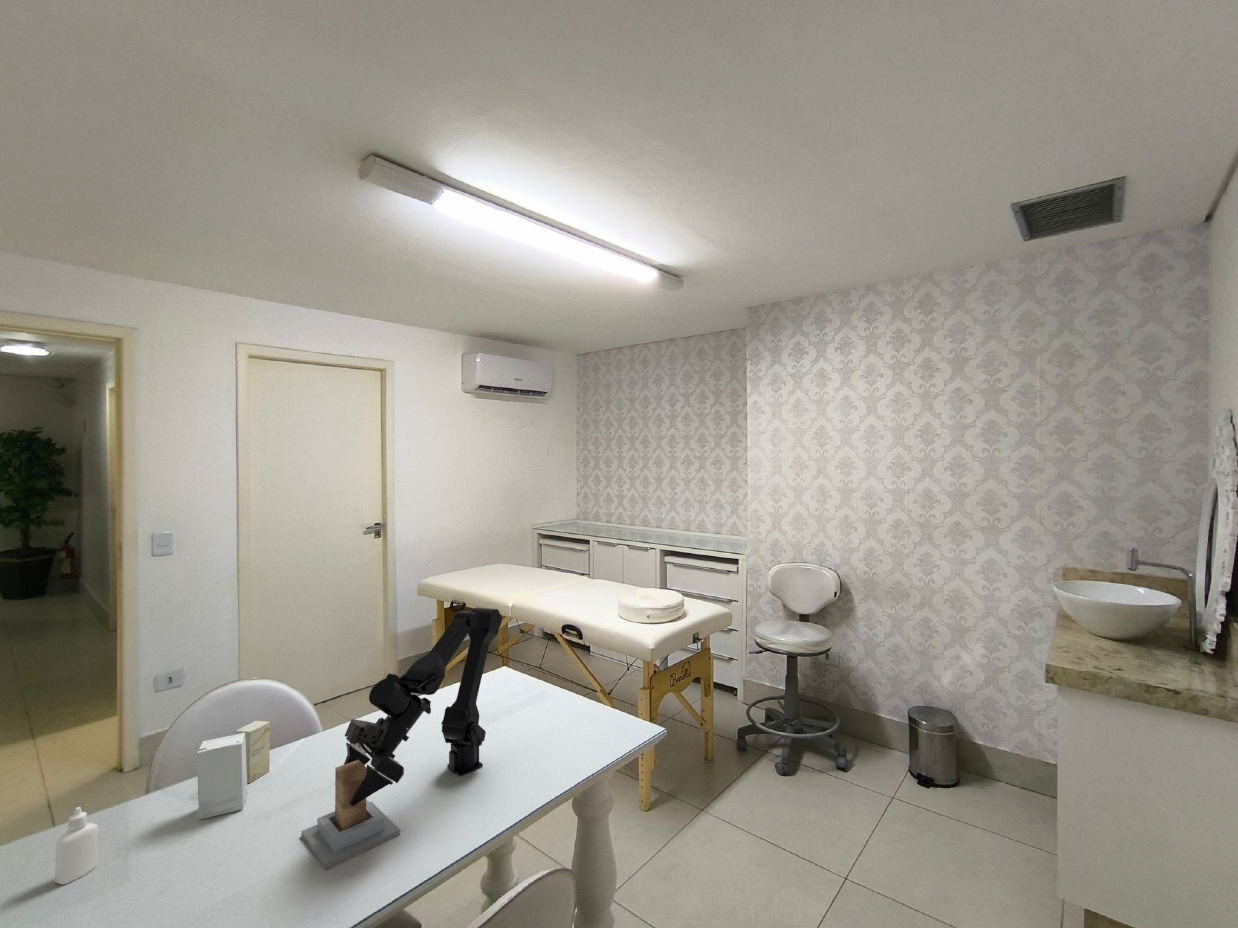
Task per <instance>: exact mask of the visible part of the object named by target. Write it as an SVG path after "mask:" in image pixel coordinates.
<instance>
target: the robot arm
mask: <svg viewBox="0 0 1238 928" xmlns="http://www.w3.org/2000/svg"><path fill="white" fill-rule="evenodd" d="M502 622H503V616H502V614H501V612H500V610H499V609H497V608H490V607H489V608H488V607H478V606H476V607H475V608H474V609H472V610H460V611H457V612H455V614H454V616H453V620H452V621H451V622H450V624H449V625H448V626H447V628H446V629H445V631H444V632H443V633H442V635H441V636H440V638H439V639H438V641H436V643H435V644H434V646H433V647H432V649H431V650H430V651H429V652H428V653H427V654H426V655H424V656H422V657H420V658H419V659H417V660H415V662H414V663H413V664H412V665H411V666H410V667H409V668H408V669H407V671H406V672H405V673H403V674H402V675H401V676H399V675H397V674H394V673H388V674H387V675H386V677H385V678H383V679H381V680H380V681H377V683H376V684H375V685H373V687H371V689H370V691H369V695H368V696H369V697H368V699H369V703H370V704H371V705H372V706H373V707H375V708H376V709H377V710H380V711H381V712H383V713H384V714H385V715H387V716H386V717H385V718H384V717H382V716H381V717H380V718H378V719H377V721H376V722H371V721H367V720H360V719H354V718H353V719H352V718H351V720H350V722H349V724H348V726H347V729H346V731H345V734H344V737H346V738H345V739H346V740H347V741H348V742H346V743H345V746H346V751H347V754H346V755H347V756H346V758H345V761H344V763H343V765H345V764H348V763H351V762H353V761H356V760H359V761H360V762H361V763H362V764H363V765H364V766H365V765H366V768H367V771H366V777H365V778H364V780H363V781H362V783H361V784H360V786H359V788H358V789H357V791H356V792H355V794H354V795H353V797H352V799H351V801H350V805H352V806H355V805H356V804H358V803H359V802H361V801H362V800H364V799H365V798H366V799H367V798H369V797H370V796H371V795H373V794H375V793H376V792H378V791H379V790H381V789H383V788H385V787H387V786H388V785H390V786H392V785H393V784H394V783H396V784H399V782H400V780H401V779H402V778H403V776H404V775H405V767H404V766H403V765H401V764H400V763H399V762H398V761H397V760H396V759H394V758H395V757H396V754H394V752H395V751H396V749H397V748H398V746H400V745H401V743H402V741H403V742H407V741H408V740H409V738H410V737H409V735H408V734H409V732H410V731H411V730H412V728H413V726H414V725H415V724H416V722H417V721H418V720H419V718H420V717H421V716H422V715H423V713H424V712H425V713H426V714H428V715H430V714H431V713H432V707H431V703H432V701H431V700H429V699H428V698H427V697H423V698H421V697H420V696H418V695H425V696H432V695H434V694H436V693H437V691H438V690H439V689H440V687H441V685H442V683H443V681H444V679H445V678H446V667H447V665H448V664H449V662H450V660H452V657H453V656H454V655H455V654H456V652H457V650H458V649H459V648H460V646H461V645H462V643H463V642H464V640H465V639H466V637H467V636H468V637H469V640H470V641H469V645H468V650H467V653H466V656H465V657H466V658H465V663H464V665H463V670H462V674H461V678H460V682H459V687H458V691H457V694H456V698H455V700H454V702H453V703H452V704H451V706H446V707H445V709H444V713H443V714H444V715H443V718H442V720H441V723H440V724H441V733H442V735H443V739H444V742H445V744H450V750H449V752H448V764H447V768H448V769H450V771H452V772H454V773H455V774H456V775H458V776H464V775H465V774H468V773H470V772H473V771H474V770H477V769H479V768H481V767H483V763H482V762H481V761H480V747H481V746H482V745H483V742H484V741H485V739H486V734H487V733H486V730H485V729H484V728H483V727H482V726H481V725H479V723H480V712H479V709H478V706H477V700H478V696H479V691H480V686H481V683H482V678H483V673H484V668H485V664H486V660H487V655H488V650H489V647H490V644H491V643H492V642H493V641H494V639H495V638H496V636H498V634H499V631H500V627H501V625H502ZM368 762H370V765H371V766H370V765H369V764H368Z"/></svg>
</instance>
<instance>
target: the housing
mask: <svg viewBox="0 0 1238 928" xmlns="http://www.w3.org/2000/svg"><path fill="white" fill-rule="evenodd" d="M316 821H317V822H316V823H317V824H315V825H313V826H311V827H308V828H305V829H303V830H301V831H300V832H301V838H302V839H303V840H304V841H305V843H306V845H307V846H308V847H309V849H310V850H311V851H312V853H313V854H314V855H315V857H316V859H318V862H319V863H320V864H321V865H322V867H323V868H324V870H328V869H330V868H332V867H334V866H336V865H338V864H341V863H343V862H345V861H348V860H349V859H350V858H351V859H352V858H353V857H355V856H357V855H359V854H362V853H363V852H366V851H368V850H370V849H372V848H374V847H377V846H378V845H381V844H383V843H385V842H387V841H389V840H391V839H393V838H395V837H397V836H400V835H401V829H400V828H399V827H398V826H397V825H396V824H395V823H394V822H393V821H392V820H391V819H390V818H389V817H388V816H387V815H386V814H385V813H384V812H383V811H382V810H381V809H380V808H379V807H378V806H377V805H376V804H375V803H373V802H372V801H368V800H367V799H366V821H364V822H362V823H360V824H357V825H355V826H353V827H350V828H348V829H346V830H344V831H341V832H339V831H338V829H337V828H336V827H335V810H334V811H332V812H329V813H327V814H324V815H322V816H319V817H318V818H317V820H316Z"/></svg>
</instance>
